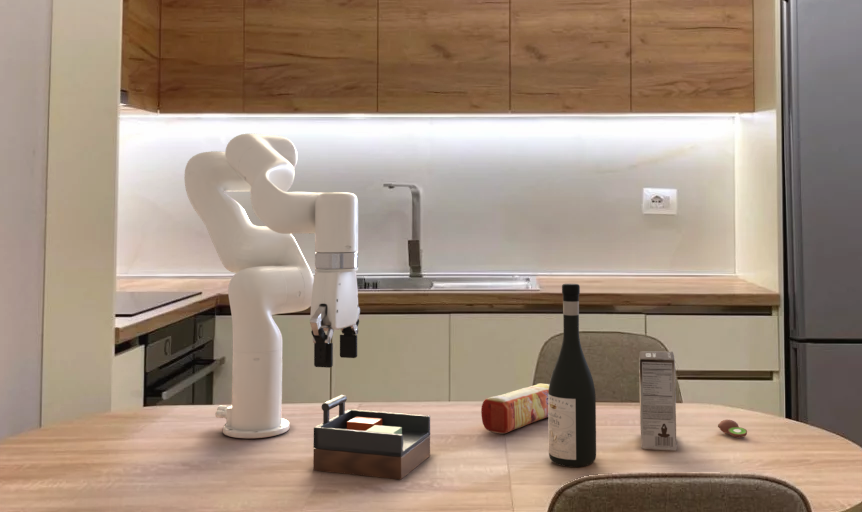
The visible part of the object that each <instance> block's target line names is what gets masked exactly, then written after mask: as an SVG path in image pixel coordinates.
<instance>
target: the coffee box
mask: <svg viewBox="0 0 862 512" xmlns="http://www.w3.org/2000/svg"><path fill="white" fill-rule="evenodd" d="M638 356H639V357H638V367H639V368H638V373H639V374H638V375H639V376H638V378H639V381H638V382H639V384H638V385H639V424H640V425H639V426H640V427H639V428H640V446H641V447H640V448H641V449H642V450H652V451H653V450H655V451H657V450H658V451H673V452H677V400H676V396H677V393H676V389H677V388H676V359H675V354H674V352H673V351H660V350H659V351H657V350H656V351H655V350H653V351H652V350H640V351H639V353H638Z"/></svg>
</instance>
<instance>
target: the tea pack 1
mask: <svg viewBox="0 0 862 512" xmlns="http://www.w3.org/2000/svg"><path fill="white" fill-rule="evenodd" d="M374 425H380V426H382V419H381V418H369V417H355V418H353V419H351V420H349V421H348V422H347V429H349V430H360V431H366V430H368V429H369V428H371V427H372V426H374Z"/></svg>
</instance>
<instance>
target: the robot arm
mask: <svg viewBox="0 0 862 512" xmlns="http://www.w3.org/2000/svg"><path fill="white" fill-rule="evenodd" d="M297 163H298V151H297V148H296V146H295V144H294V143H293V141H292V140H291V139H289V138H288V137H286V136H283V135H275V134H261V133H242V134H239V135H236V136H234V137H233V138H231V139H230V140H229V142H228V143H227V144H226V147H225V151H221V150H219V151H217V150H213V151H212V150H211V151H205V152H204V151H203V152H200V153H197V154H195V155H192V157H190V158H189V160H188V161H187V163H186V165H185V168H184V188H185V191H186V195H187V198H188V201H189V203H190V204H191V206H192V208H193V210H194V211H195V213H196V214H197V215H198V217H199V218H200V220H201V221H202V222H203V224H204V226H205V228H206V230H207V233H208V235H209V237H210V239H211V242H212V245H213V246H214V248H215V251H216V253H217V255H218V257H219V260H220V262H221V264H222V265H223V267H224V268H225V269H226V270H227V271H228V272H231V273H233V274H234V275H233V276H232V277H231V278H230V280H229V283H228V289H227V291H228V292H227V293H228V301H229V307H230V313H231V325H232V326H231V327H232V369H231V371H232V372H231V405H229V406H228V405H218V407H217V409H216V411H215V414H214V415H215V418H218V419H225V420H226V421H225V422H226V423H224V425H222V433H223V434H224V435H225V436H226V437H231V438H234V439H235V438H236V439H263V438H270V437H274V436H279V435H282V434H284V433H286V432H288V431H289V429H290V421H289V420H287V419H285V418H282V417H283V415H282V413H283V411H282V410H283V346H284V345H283V342H284V341H283V335H282V332H281V330H280V328H279V326H278V325H277V323H276V322H275V320H274V318H273V316H274V315H281V314H291V313H298V312H302V311H303V312H304V311H305V310H307V309H309V308H310V318H309V325H310V328H311V331H310V332H311V335H312V343H313V350H314V351H313V366H314V367H315V368H328V369H329V368H332V367H333V366H334V361H333V360H334V342H332V338H333V335H334V332H335V331H339V330H340V332H341V334H339V357H340V358H343V359H344V358H346V359H356V358H357V357H358V335H359V328H358V327H359V324H360V316H361V315H360V314H361V308H360V306H359V291H358V288H359V287H358V277H357V272H359V200H358V197H357V195H356V194H355V193H352V192H349V191H347V192H345V191H344V192H343V191H342V192H341V191H331V192H317V191H316V192H312V191H289V190H290V189H291V187H292V186H293V184H294V180H295V176H296V175H295V168H296V166H297ZM226 192H235V193H237V192H238V193H239V192H241V193H242V192H243V193H250V194H249V195H250V204H251V208H252V212H253V213H254V215H255V216H256V218H257V219H258V220H260V222H262V224H264V226H263V225H261V226H260V225H257V224H253V223H252V222H251V220H250V219H249V216H248V215H247V212H246V210H245V208H243V206H242V205H241V203H239V202H238V201H237V200H236V199H235V198H233V197H231V195H228V193H226ZM296 234H298V235H299V234H300V235H301V234H309V235H310V234H311V235H313V234H314V274H313V272H312V270H311V267H310V265H309V263H308V262H307V260H306V258H305V256H304V253H303V252H302V249H301V248H300V246H299V244H298V242H297V241H296V238H295V237H294V235H296Z"/></svg>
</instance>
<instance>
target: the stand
mask: <svg viewBox="0 0 862 512" xmlns="http://www.w3.org/2000/svg"><path fill="white" fill-rule="evenodd" d="M429 457H431V434H430V435H429V436H428V437H426V438H425V439H424V440H422V441H421V442H420V443H418V444H417V445H416V446H414V447H413V448H412V449H410V450H409V451H408V452H406V453H405V454H404V455H402V456H391V455H381V454H370V453H360V452H350V451H340V450H329V449H319V448H313V459H312V461H313V462H312V463H313V465H312V466H313V467H312V468H313V471H318V472H327V473H335V474H345V475H355V476H365V477H373V478H381V479H390V480H392V479H393V480H402V479H404V478H405V477H407V475H409V474H410V473H411V472H412V471H414V470H415V468H417V467H418V466H420V465H421V464H422V463H423V462H424V461H426V460H427V459H428V458H429Z"/></svg>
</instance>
